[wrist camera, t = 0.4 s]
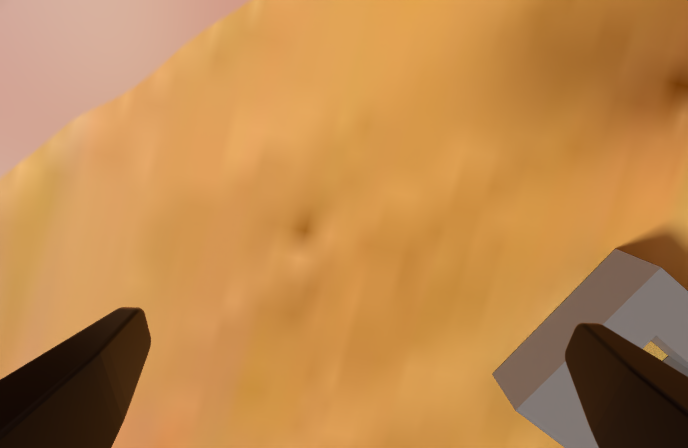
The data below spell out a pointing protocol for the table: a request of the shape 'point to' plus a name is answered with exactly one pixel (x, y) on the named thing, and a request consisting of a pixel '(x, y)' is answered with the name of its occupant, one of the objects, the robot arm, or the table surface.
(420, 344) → the table surface
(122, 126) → the table surface
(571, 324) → the rack block
